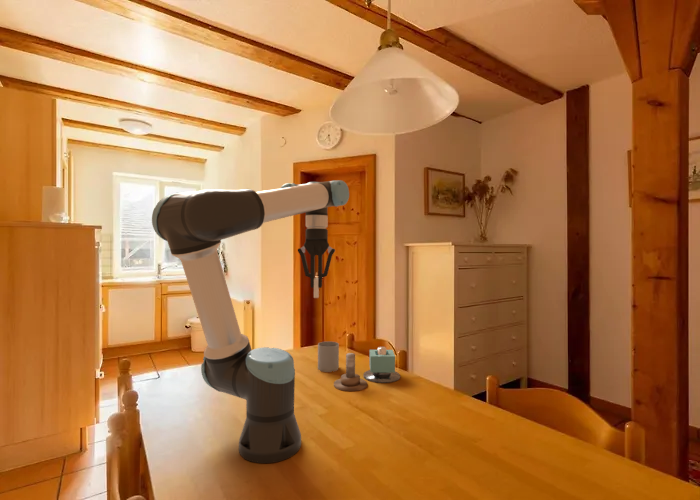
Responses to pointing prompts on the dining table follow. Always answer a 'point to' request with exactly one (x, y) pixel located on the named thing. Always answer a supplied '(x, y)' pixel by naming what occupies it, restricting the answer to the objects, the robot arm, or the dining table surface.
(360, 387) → the stand
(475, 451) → the dining table surface
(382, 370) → the teal square block
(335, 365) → the cup
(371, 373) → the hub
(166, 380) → the dining table surface
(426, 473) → the dining table surface
